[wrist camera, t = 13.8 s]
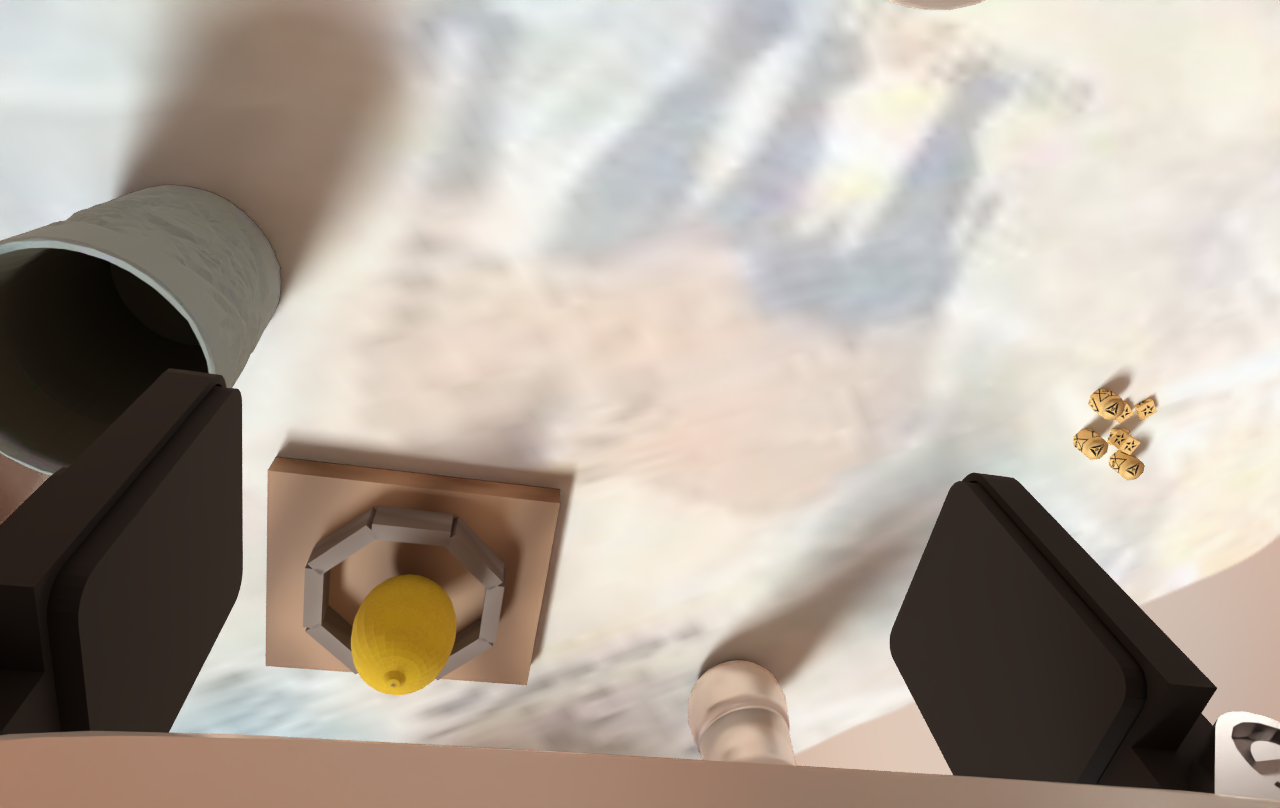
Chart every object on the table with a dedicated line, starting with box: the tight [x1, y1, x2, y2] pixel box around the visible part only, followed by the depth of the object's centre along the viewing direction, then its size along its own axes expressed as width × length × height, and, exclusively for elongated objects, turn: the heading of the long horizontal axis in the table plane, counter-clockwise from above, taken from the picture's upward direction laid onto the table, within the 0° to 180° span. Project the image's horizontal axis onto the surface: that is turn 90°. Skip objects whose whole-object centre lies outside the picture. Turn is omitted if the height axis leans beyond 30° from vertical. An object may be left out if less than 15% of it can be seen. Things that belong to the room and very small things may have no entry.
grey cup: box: [0, 185, 281, 476], centre depth 37 cm, size 10×10×12 cm
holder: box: [266, 457, 560, 685], centre depth 50 cm, size 16×14×3 cm
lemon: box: [351, 574, 456, 695], centre depth 46 cm, size 6×6×8 cm
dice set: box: [1073, 389, 1157, 480], centre depth 51 cm, size 5×5×2 cm
